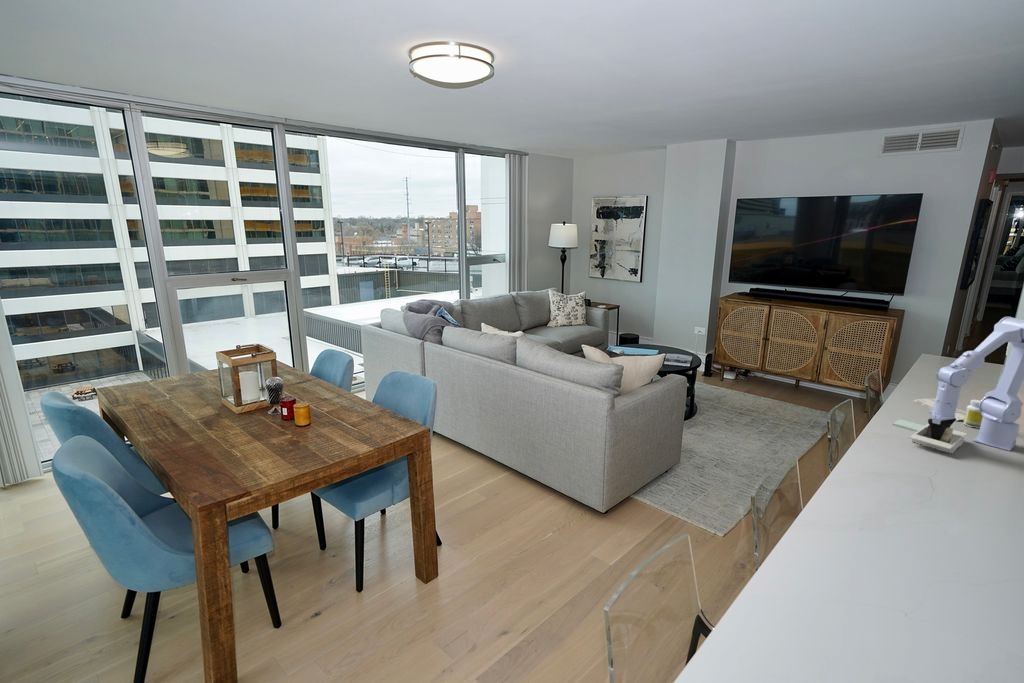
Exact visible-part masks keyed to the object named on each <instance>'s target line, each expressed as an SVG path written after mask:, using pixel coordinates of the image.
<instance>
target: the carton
mask: <svg viewBox="0 0 1024 683" xmlns="http://www.w3.org/2000/svg"><path fill="white" fill-rule="evenodd" d="M928 425H929V423H928V422H927V424H925V425H924V427H923V428H921V429H920V430H919V431H915V432H914V433H913V434H912V435H910V436H909V437H908V438H909V439H912V440H911V443H913V442H915V443H914V444H917V443H918V444H917V445H920V444H922V445H921V446H924V445H926V446H925V447H927V446H929V447H928V448H930V447H932V448H931V449H934V448H936V449H935V450H937V449H939V450H938V451H941V450H942V452H944V451H946V452H945V453H948V452H949V454H951V453H952V454H954V453H955V451H956V449H957V448H958V447H959V446H960V447H961V446H963V443H964V439H965V437H966V436H968V433H966V432H962V431H959V430H955V429H953V432H952V437H951V441H952V442H951V443H950V444H949V443H945V442H941V441H938V440H934V439H931V438H927V437H926V436H924V435H925V434H926V432H927V428H928ZM954 442H955V443H954ZM960 447H959V448H960ZM959 448H958V449H959ZM958 449H957V450H958Z"/></svg>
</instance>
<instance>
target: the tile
mask: <svg viewBox="0 0 1024 683" xmlns="http://www.w3.org/2000/svg"><path fill="white" fill-rule="evenodd" d="M892 425H893V426H895V427H896V426H897V427H900V428H903V429H907V430H911V431H914V432H917V431H919V430H920V429H921V428H923V427H924V426H925V425H923V424H919V423H916V422H912V421H909V420H905V419H901V418H899V419H898V420H896V421H894V422H893V423H892Z"/></svg>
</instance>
